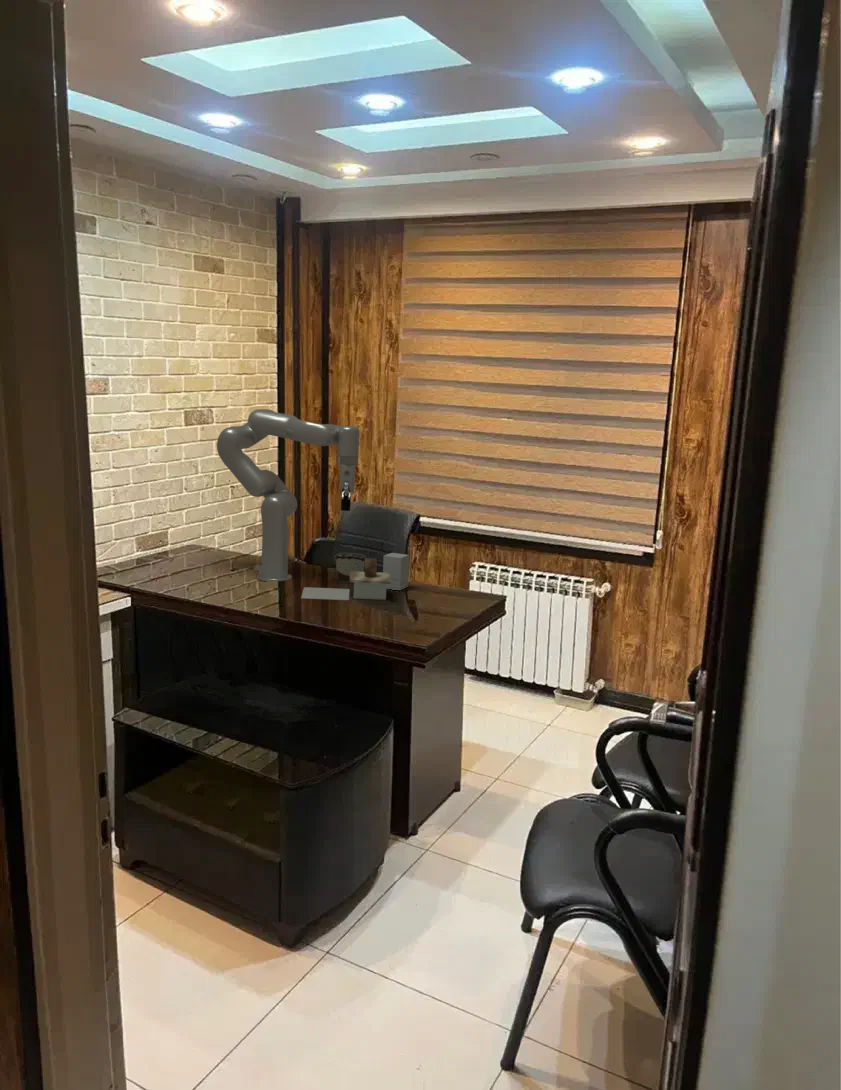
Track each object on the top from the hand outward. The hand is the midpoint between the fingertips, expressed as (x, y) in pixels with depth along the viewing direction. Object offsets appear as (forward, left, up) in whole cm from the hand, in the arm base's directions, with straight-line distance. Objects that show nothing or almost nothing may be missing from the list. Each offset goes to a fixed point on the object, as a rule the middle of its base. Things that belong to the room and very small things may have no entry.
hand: (345, 508), depth 293 cm
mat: (+4, -16, -28) cm, 33 cm away
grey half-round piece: (-3, +10, -28) cm, 30 cm away
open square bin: (+17, -8, -28) cm, 34 cm away
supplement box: (+17, +9, -28) cm, 34 cm away
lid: (+17, -8, -22) cm, 28 cm away
